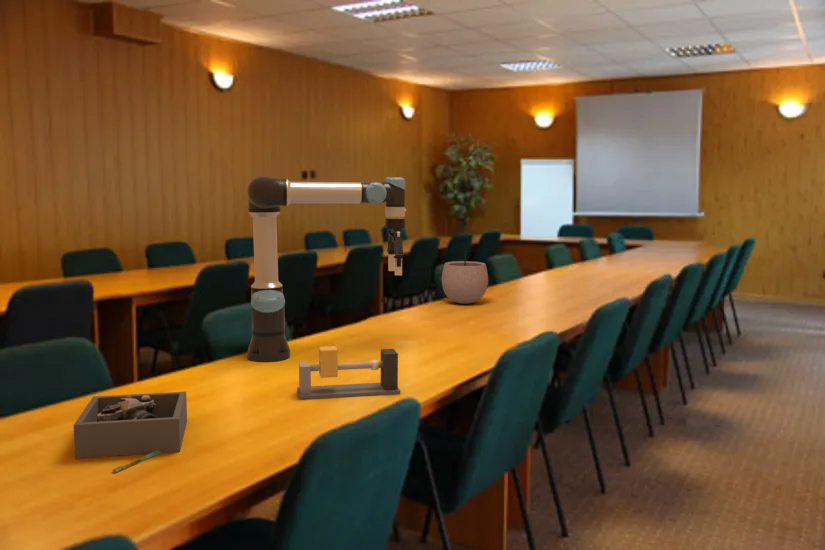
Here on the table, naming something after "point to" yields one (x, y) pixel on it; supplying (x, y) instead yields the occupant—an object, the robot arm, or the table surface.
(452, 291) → the plant pot
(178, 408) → the open storage box
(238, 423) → the table surface
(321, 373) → the sleeve
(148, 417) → the camera
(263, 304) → the robot arm
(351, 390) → the rail
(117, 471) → the pencil
